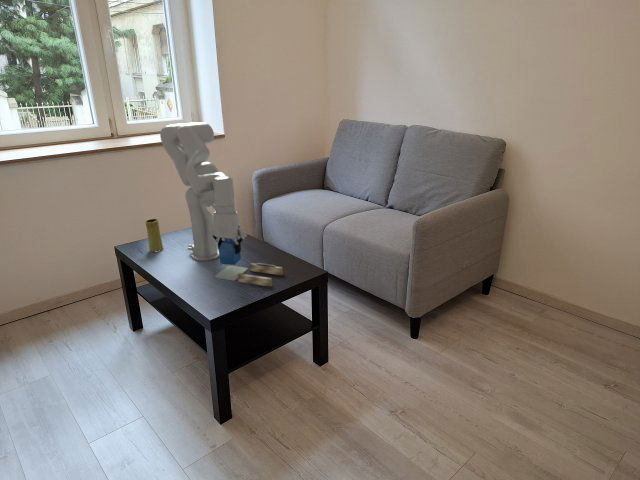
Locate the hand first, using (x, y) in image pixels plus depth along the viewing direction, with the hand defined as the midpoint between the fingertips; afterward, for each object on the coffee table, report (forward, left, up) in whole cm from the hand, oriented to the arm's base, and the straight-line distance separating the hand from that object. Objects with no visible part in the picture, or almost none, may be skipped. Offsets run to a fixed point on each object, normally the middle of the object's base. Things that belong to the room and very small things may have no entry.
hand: (229, 251), depth 175 cm
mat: (0, 0, -10) cm, 10 cm away
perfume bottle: (0, 0, -4) cm, 4 cm away
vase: (-46, +12, -10) cm, 49 cm away
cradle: (+13, 0, -10) cm, 16 cm away
